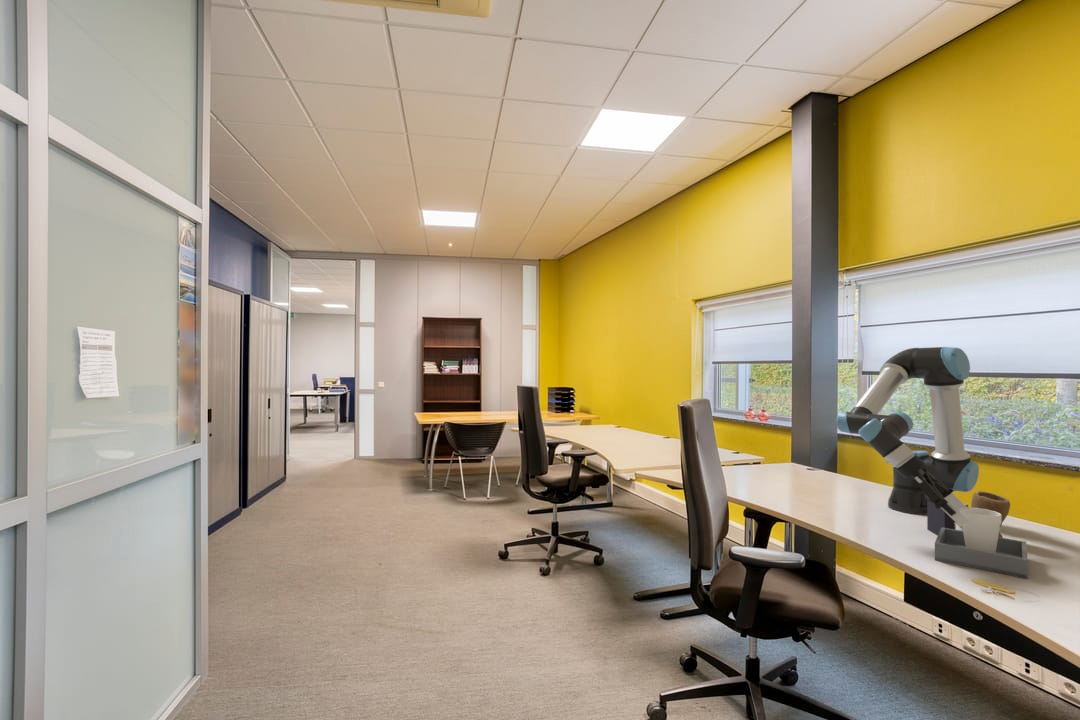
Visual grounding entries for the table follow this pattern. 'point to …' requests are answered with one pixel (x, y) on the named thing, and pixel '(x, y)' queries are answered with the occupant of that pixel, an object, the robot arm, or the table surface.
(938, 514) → the dark blue upright block
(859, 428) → the robot arm
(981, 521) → the foam cup
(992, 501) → the brown flared vessel
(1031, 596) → the table surface
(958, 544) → the tray
